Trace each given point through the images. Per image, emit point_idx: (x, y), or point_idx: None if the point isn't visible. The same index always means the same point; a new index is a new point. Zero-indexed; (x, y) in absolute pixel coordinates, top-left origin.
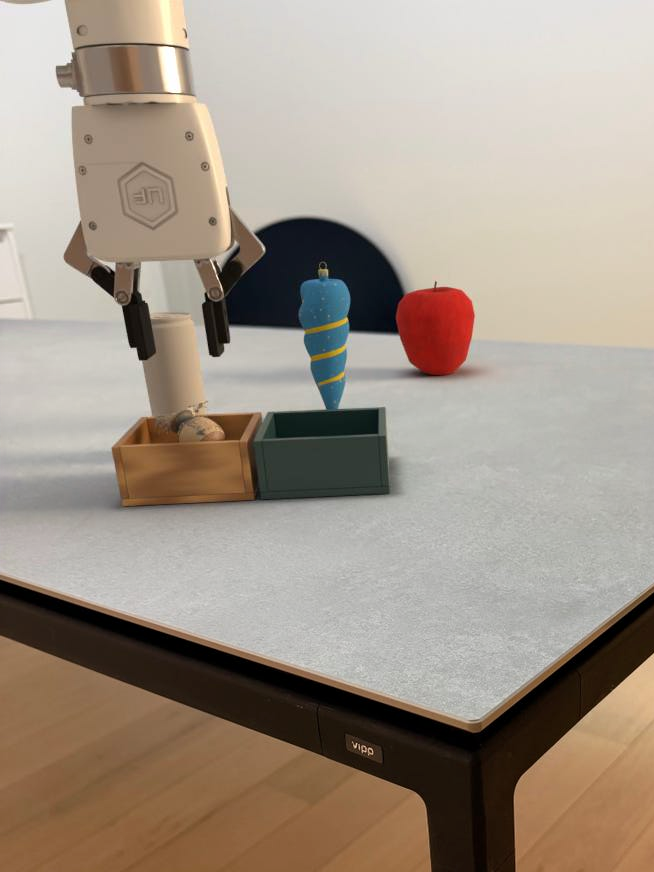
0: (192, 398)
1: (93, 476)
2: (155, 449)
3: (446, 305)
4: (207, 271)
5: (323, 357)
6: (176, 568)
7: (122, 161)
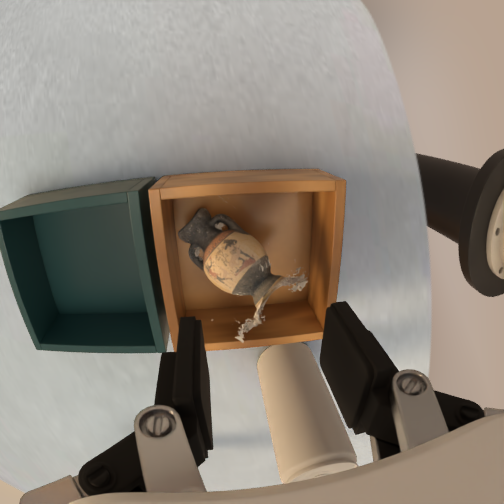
0: (276, 391)
1: (366, 284)
2: (285, 179)
3: None
4: (168, 475)
5: None
6: None
7: None
